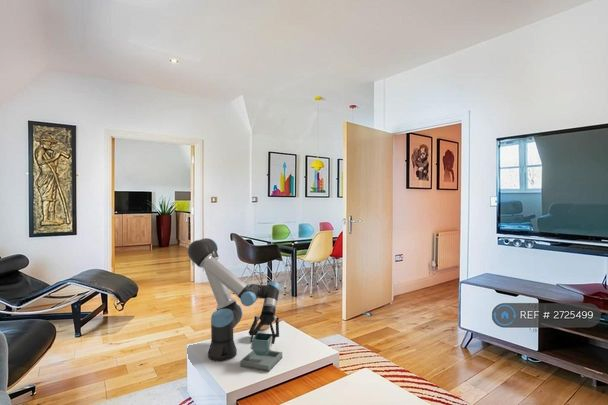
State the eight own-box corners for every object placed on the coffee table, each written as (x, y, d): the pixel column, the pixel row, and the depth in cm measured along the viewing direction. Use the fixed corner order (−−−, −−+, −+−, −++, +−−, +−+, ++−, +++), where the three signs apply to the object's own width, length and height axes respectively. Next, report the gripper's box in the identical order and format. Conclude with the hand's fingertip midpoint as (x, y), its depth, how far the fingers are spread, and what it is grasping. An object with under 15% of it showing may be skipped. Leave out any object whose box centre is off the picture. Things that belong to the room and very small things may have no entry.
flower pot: (268, 358, 165) (268, 340, 165) (251, 357, 167) (251, 339, 167) (273, 350, 173) (273, 333, 173) (257, 349, 175) (257, 332, 175)
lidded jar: (273, 337, 202) (273, 322, 202) (261, 343, 193) (261, 327, 193) (259, 333, 208) (259, 319, 208) (248, 339, 199) (248, 324, 199)
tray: (240, 366, 165) (240, 360, 165) (255, 353, 180) (255, 347, 180) (268, 372, 160) (268, 365, 160) (282, 357, 175) (282, 352, 175)
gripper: (289, 312, 183) (282, 353, 167) (252, 310, 187) (242, 351, 171) (286, 305, 178) (279, 347, 162) (249, 304, 182) (238, 345, 166)
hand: (260, 349), depth 167 cm, fingers closed on flower pot, 9 cm apart
